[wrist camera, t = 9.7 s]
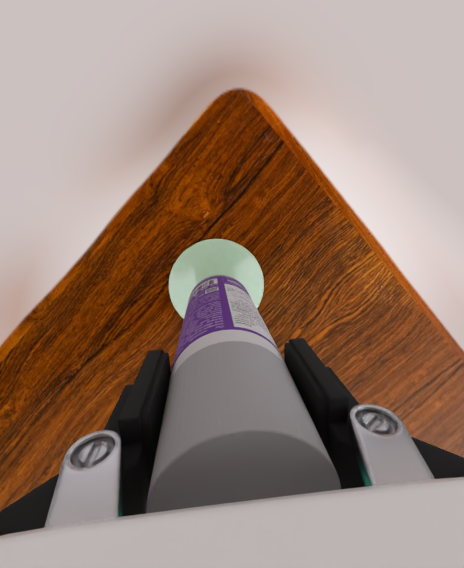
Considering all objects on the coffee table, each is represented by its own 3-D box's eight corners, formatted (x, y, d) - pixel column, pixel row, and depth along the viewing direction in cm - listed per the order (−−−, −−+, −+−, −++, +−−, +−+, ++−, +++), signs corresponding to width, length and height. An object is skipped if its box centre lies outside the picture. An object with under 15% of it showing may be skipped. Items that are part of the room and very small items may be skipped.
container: (190, 336, 21) (151, 601, 7) (185, 276, 20) (123, 437, 5) (251, 331, 21) (342, 574, 7) (249, 272, 20) (354, 413, 6)
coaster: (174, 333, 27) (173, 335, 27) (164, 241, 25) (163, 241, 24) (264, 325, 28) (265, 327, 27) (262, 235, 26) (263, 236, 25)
